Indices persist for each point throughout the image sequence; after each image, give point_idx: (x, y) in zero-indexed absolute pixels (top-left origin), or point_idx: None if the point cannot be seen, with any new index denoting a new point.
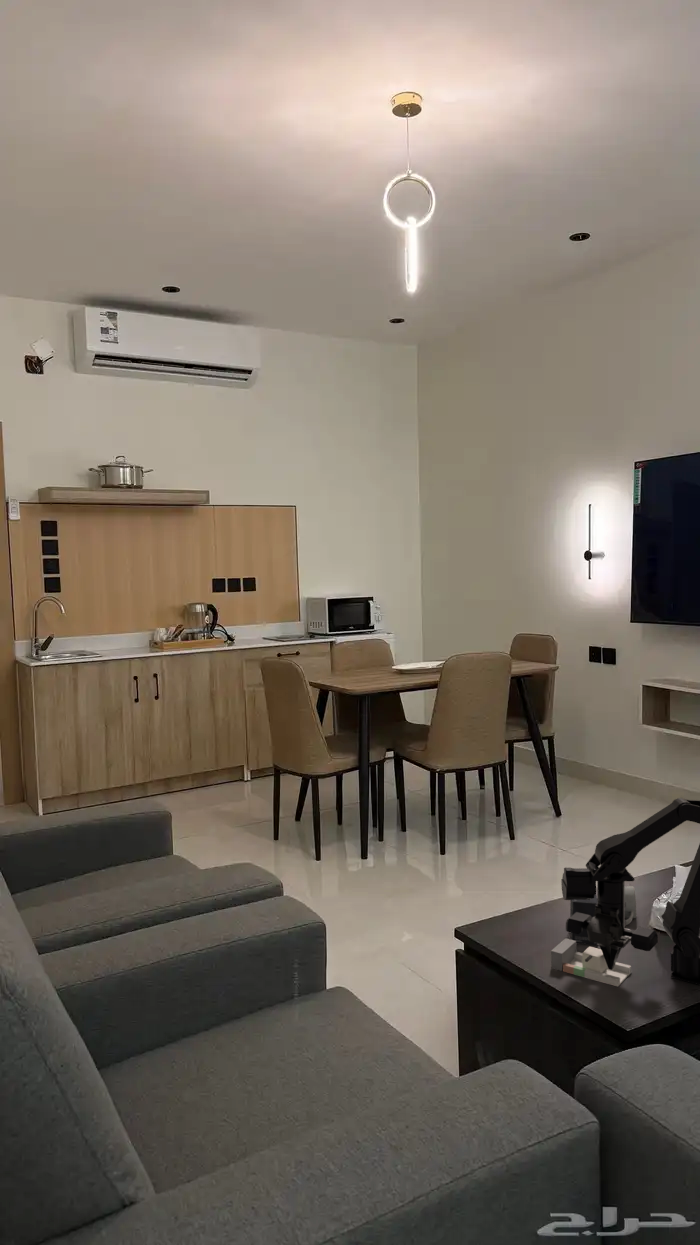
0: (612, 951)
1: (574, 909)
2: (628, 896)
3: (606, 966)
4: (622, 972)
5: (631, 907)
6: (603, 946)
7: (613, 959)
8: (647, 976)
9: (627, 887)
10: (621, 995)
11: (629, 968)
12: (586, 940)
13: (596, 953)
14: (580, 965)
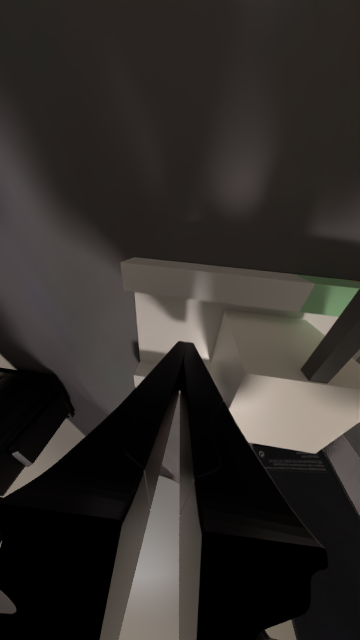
0: (131, 442)
1: None
2: None
3: (211, 368)
4: (158, 359)
5: None
6: (236, 513)
7: (151, 376)
8: (99, 364)
9: None
10: (79, 161)
11: (134, 374)
12: (285, 458)
13: (273, 408)
14: None
